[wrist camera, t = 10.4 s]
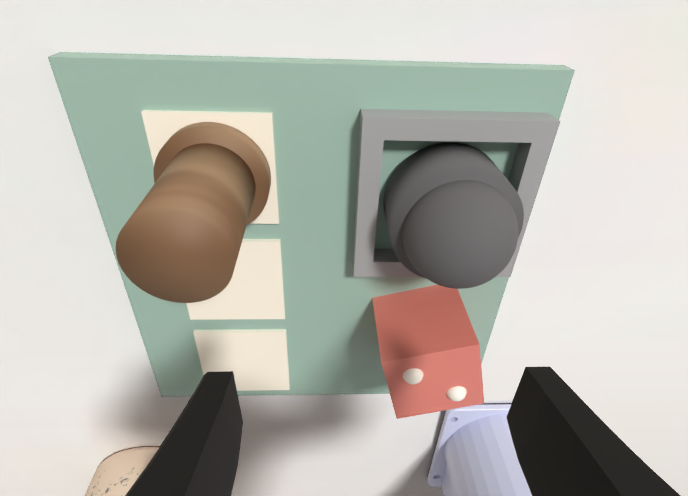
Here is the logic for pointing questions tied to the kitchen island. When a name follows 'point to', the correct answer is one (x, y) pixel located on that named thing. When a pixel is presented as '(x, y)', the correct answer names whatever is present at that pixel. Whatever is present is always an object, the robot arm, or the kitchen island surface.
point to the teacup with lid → (120, 472)
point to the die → (428, 351)
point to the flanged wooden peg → (195, 213)
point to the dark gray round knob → (452, 215)
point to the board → (302, 196)
